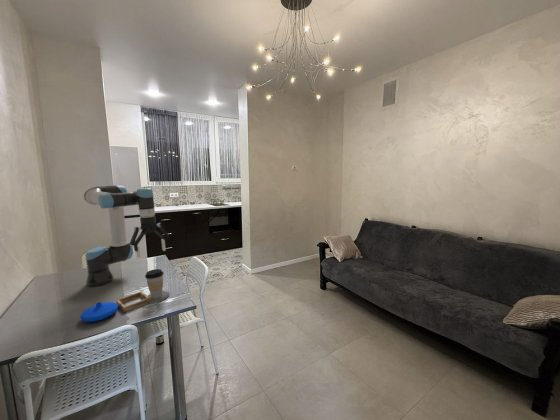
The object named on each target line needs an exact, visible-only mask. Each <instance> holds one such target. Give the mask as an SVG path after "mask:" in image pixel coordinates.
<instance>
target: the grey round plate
mask: <svg viewBox="0 0 560 420" xmlns="http://www.w3.org/2000/svg"><path fill="white" fill-rule="evenodd" d="M146 295H147V294H146ZM147 296H148V297H150V300H151V301H149V302H148V304H149V303H152V304H158V303H161V302H164V301H166V300H167V299H168V298H170V293H169V292H168V291H166V290H163V295H162V297H160V298H157V299H152V298H151V295H150V293H149V294H148V295H147ZM144 299H145V298H144ZM144 299H143V300H144Z"/></svg>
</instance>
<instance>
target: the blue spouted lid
mask: <svg viewBox="0 0 560 420" xmlns="http://www.w3.org/2000/svg"><path fill="white" fill-rule="evenodd" d="M118 308H119V306H118V305H117V303H116V302H113V301H107V302H97V303H95V304H94V305H92V306H90V307H87V308H86V309H84V310H83V311H82V312H81V313H80V316H79V318H80V320H81V321H83V322H86V323H87V322H89V323H90V322H91V323H92V322H98V321H102V320H104V319H107V318H108V317H110V316H111V315H113V314H115V313H116V312H117V311H118Z"/></svg>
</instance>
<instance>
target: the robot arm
mask: <svg viewBox="0 0 560 420" xmlns="http://www.w3.org/2000/svg"><path fill="white" fill-rule="evenodd" d="M83 198H84V200H85V202H86V203H87V204H89V205H94V206H95V205H97V206H98V205H99V206H100V208H101V209H108V215H109V226H110V228H109V229H110V235H111V242H110V243H109V244H108V245H109V247H107V246H104V245H103V246H96V247H94V248H91V249H89V250H87V251H86V252H85V253H84V254H85V262H86V267H87V268H86V269H87V278H86V281H85V284H86V287H88V286H89V287H90V288H96V287H100V286H101V287H102V286H104V285H108V284H109V283H111V282H113V281H114V279H115V278H114V274H113V272H112V271H111V269H110V265H113V264H117V263H120V262H121V263H122V262H125V261H127V260H130V259H132V258H133V254H134V252H136V257H138V258H141V249H140V245H139V243H140V242H141V241H142V239H143V237H144V236H145V235H146V234H151V233H155V234H157V236H159V237H160V238H161V240H160V241H161V249H162V251H163V252H165V251H166V245H167V240H168V238H170V235H169V233H168V232H167V230H166V229H165V227H164V226H163V223H162V222H158V223H157V220H156V219H157V217H156V216H155V215H156V212H155V203H154V201H155V200H154V193H153V188H150V187H147V188H145V187H144V188H143V187H142V188H137V190H136V191H134V190H133V191H128V190H127V188H126V187H125V186H124V185H118V184H117V185H103V186H99V185H98V186H94V187H93V186H92V187H91V188H89V189H87V190H86V191H84V194H83ZM130 206H138V211H139V213H138V214H139V217H140V218H139V222H140V226H134V231H133V234H132V236H131V238H130V241H129V240H127V233H126V221H125V207H130ZM157 228H159V229H160V231H161V232H162V233H161V232H160V231H159V230H158V229H157ZM140 230H141V232H140V234H139V231H140ZM89 287H88V288H89Z"/></svg>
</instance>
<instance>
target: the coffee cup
mask: <svg viewBox="0 0 560 420" xmlns="http://www.w3.org/2000/svg"><path fill="white" fill-rule="evenodd" d="M163 275H164V272H163V271H162V269H160V268H156V269H151V270H148V271H147V272H146V273H145V275H144V277H145V279H146V282H147V287H148V291H149V294H150V295H151V298H152V299H157V298H160V297H162V295H163V291H164V290H163V287H164V276H163Z"/></svg>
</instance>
